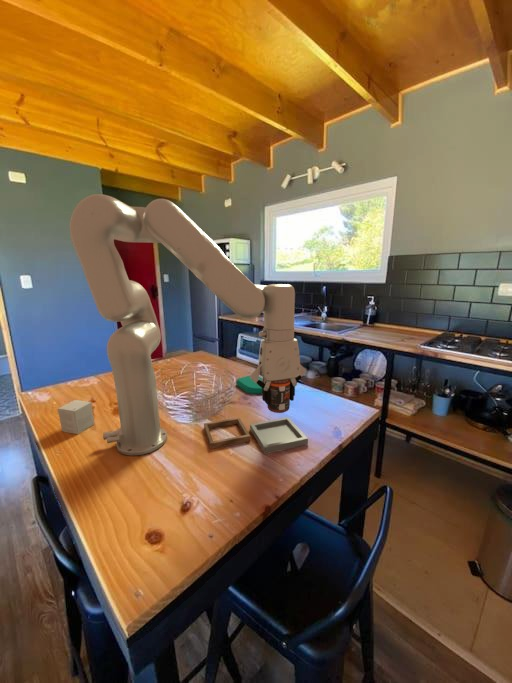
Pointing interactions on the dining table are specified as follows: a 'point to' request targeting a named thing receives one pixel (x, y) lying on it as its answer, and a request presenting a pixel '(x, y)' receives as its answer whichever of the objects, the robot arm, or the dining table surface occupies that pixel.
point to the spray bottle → (249, 385)
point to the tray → (278, 435)
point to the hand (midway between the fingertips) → (278, 400)
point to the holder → (230, 440)
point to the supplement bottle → (279, 396)
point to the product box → (76, 416)
